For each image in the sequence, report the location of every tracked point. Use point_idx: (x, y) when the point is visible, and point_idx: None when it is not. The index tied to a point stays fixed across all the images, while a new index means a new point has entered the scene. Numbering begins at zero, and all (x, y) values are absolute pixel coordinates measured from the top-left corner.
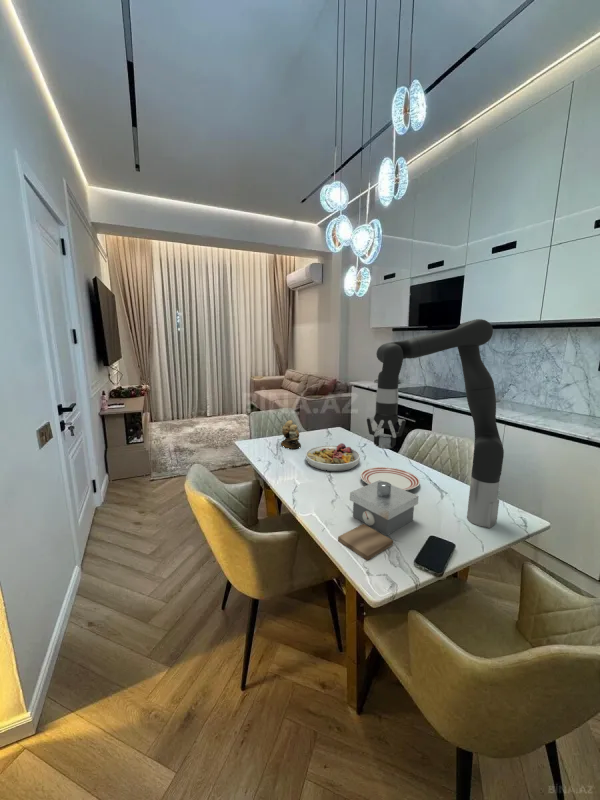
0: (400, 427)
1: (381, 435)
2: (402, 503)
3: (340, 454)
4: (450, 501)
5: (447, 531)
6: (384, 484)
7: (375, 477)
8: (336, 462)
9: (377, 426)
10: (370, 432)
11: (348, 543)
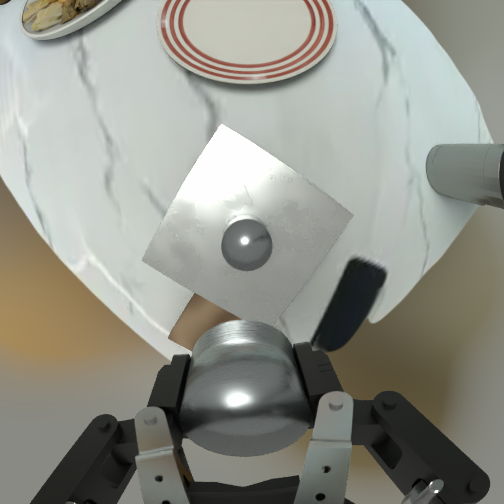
0: (400, 488)
1: (211, 423)
2: (304, 279)
3: None
4: (402, 91)
5: (384, 231)
6: (247, 248)
7: (204, 6)
8: (85, 6)
9: (150, 480)
10: (125, 462)
11: (192, 351)
